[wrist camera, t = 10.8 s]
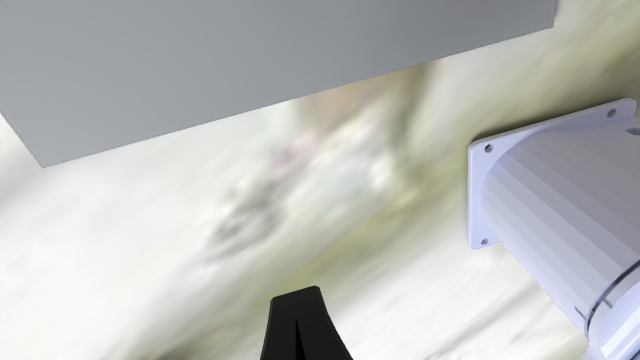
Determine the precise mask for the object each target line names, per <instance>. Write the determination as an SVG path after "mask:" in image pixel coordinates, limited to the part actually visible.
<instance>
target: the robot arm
mask: <svg viewBox="0 0 640 360" xmlns="http://www.w3.org/2000/svg"><path fill="white" fill-rule="evenodd" d="M636 107H637V102H636V100H634V99H631V98H624V99H620V100H617V101H613V102H609V103H606V104H602V105H599V106H595V107H592V108H588V109H585V110H581V111H578V112H574V113H571V114H567V115H564V116H560V117H557V118H553V119H550V120H546V121H543V122H539V123H536V124H532V125H528V126H525V127H521V128H518V129H514V130H511V131H507V132H504V133H500V134H497V135H493V136H490V137H486V138H483V139H479V140H476V141H474V142H473V143H472V144H471V145H470V146H469V149H468V228H467V243H468V245H469V247H470V248H471V249H479V248H482V247H486V246H489V245H493V244H496V243H499V242H502V243H503V244H504V246H505V247H506V248H507V249H508V250H509V251H510V252H511V254H512V255H513V256H514V257H515V258H516V259H517V260H518V262H519V263H520V264H521V265H522V266H523V267H524V268H525V269H526V271H527V272H528V273H529V274H530V275H531V276H532V277H533V279H534V280H535V281H536V282H537V283H538V284H539V285H540V286H541V288H542V289H543V290H544V291H545V292H546V293H547V294H548V296H549V297H550V298H551V299H552V300H553V301H554V302H555V303H556V305H557V306H558V307H559V308H560V309H561V310H562V311H563V313H564V314H565V315H566V316H567V317H568V318H569V319H570V320H571V322H572V323H573V324H574V325H575V326H576V327H577V328H578V330H579V331H580V332H581V333H582V334H583V335H584V336H585V337H586V339H587V340H588V341H589V346H588V348H587V350H586V351H585V352H584V354H583V358H584V359H585V360H640V118H637V117H635V116H634V114H635V111H636ZM608 112H609V113H608ZM489 144H490V145H489ZM487 145H489V147H488V148H487V149H485V147H486V146H487ZM260 360H353V358H352V357H351V355H350V353H349V352H348V350H347V348H346V347H345V345H344V343H343V341H342V340H341V338H340V336H339V334H338V332H337V331H336V329H335V327H334V325H333V323H332V321H331V318H330V316H329V314H328V312H327V309H326V306H325V303H324V300H323V297H322V294H321V291H320V288H319V287H318V286H315V285H314V286H311V287H307V288H304V289H301V290H297V291H294V292H290V293H287V294H283V295H280V296H277V297H273V299H272V300H271V302H270V311H269V318H268V324H267V329H266V335H265V339H264V344H263V349H262V353H261V357H260Z"/></svg>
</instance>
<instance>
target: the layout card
mask: <svg viewBox="0 0 640 360" xmlns="http://www.w3.org/2000/svg"><path fill="white" fill-rule="evenodd" d="M556 1H557V0H0V113H1V114H2V116H3V117H4V118H5V120H6V121H7V122H8V124H9V125H10V126H11V128H12V129H13V130H14V132H15V133H16V134H17V135H18V137H19V138H20V139H21V141H22V142H23V143H24V145H25V146H26V147H27V149H28V150H29V151H30V153H31V154H32V155H33V157H34V158H35V159H36V160H37V162H38V163H39V164H40V166H41V167H42V168H46V167H49V166H53V165H56V164H60V163H64V162H67V161H71V160H74V159H78V158H82V157H85V156H89V155H92V154H96V153H100V152H103V151H107V150H111V149H114V148H118V147H121V146H125V145H129V144H132V143H136V142H139V141H143V140H147V139H150V138H154V137H158V136H161V135H165V134H168V133H172V132H176V131H179V130H183V129H186V128H190V127H194V126H197V125H201V124H205V123H208V122H212V121H215V120H219V119H223V118H226V117H230V116H233V115H237V114H241V113H244V112H248V111H252V110H255V109H259V108H262V107H266V106H270V105H273V104H277V103H280V102H284V101H288V100H291V99H295V98H299V97H302V96H306V95H309V94H313V93H317V92H320V91H324V90H327V89H331V88H335V87H338V86H342V85H346V84H349V83H353V82H356V81H360V80H364V79H367V78H371V77H374V76H378V75H382V74H385V73H389V72H393V71H396V70H400V69H403V68H407V67H411V66H414V65H418V64H421V63H425V62H429V61H432V60H436V59H439V58H443V57H447V56H450V55H454V54H458V53H461V52H465V51H468V50H472V49H476V48H479V47H483V46H486V45H490V44H494V43H497V42H501V41H505V40H508V39H512V38H515V37H519V36H523V35H526V34H530V33H533V32H537V31H541V30H544V29H548V28H552V27H553V24H554V16H555V9H556Z"/></svg>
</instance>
